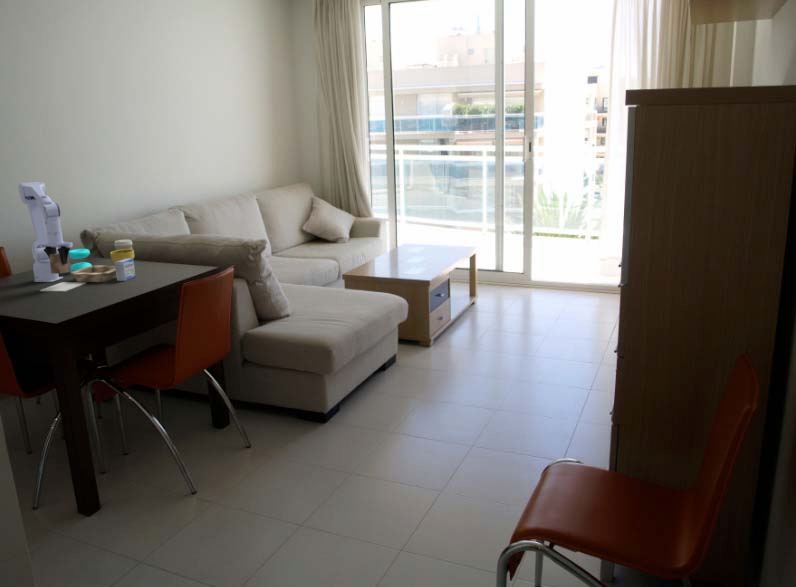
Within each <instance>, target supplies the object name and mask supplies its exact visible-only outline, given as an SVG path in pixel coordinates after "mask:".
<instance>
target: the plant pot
mask: <svg viewBox="0 0 796 587" xmlns="http://www.w3.org/2000/svg"><path fill="white" fill-rule="evenodd" d="M109 255H110V259H111V261H113V264H114V265H115V262H117V261H120V260H123V259H127V258H131V259H133V260H134V258H135V249H133V248H132V249H123V250H116V249H115V250H113V251H110V253H109Z"/></svg>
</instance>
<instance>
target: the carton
mask: <svg viewBox="0 0 796 587" xmlns="http://www.w3.org/2000/svg"><path fill="white" fill-rule="evenodd" d="M69 274H70V275H74V277H75V282H82V283H89V282H90V283H106V282H108V281H111V280H113V278H114V279H117V276H116V270H115V265H107V264H106V265H102V264H101V265H97V264H95V265H92V267H84V268H82V269H79V270H76V271H73V272H69Z"/></svg>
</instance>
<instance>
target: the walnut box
mask: <svg viewBox="0 0 796 587" xmlns="http://www.w3.org/2000/svg"><path fill="white" fill-rule="evenodd" d="M71 265H72V264H71V258H70V253H68V257H67V264H62V262H61V257H60V254H59V253H58V254H51V255H50V266H51V274H58V275H60V274H65V273H70V272H71Z"/></svg>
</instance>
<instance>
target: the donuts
mask: <svg viewBox="0 0 796 587" xmlns="http://www.w3.org/2000/svg"><path fill="white" fill-rule="evenodd" d="M69 253H70V259H73V260H79V259H86V258H87V257H88V256H90V255H91V252H90V250H89V249H87V248H77V249H76V248H75V249H72V250H71V249H70V250H69ZM92 266H93V265H92V263H89V262H85V261H83V262H76V263H73V264H71V272H73V271H76V270H79V269H82V268H84V267H92Z"/></svg>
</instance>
